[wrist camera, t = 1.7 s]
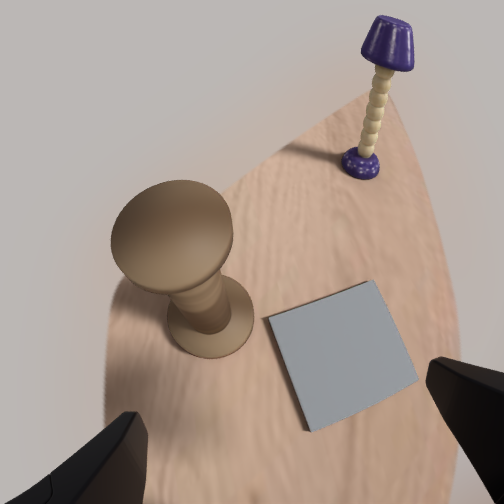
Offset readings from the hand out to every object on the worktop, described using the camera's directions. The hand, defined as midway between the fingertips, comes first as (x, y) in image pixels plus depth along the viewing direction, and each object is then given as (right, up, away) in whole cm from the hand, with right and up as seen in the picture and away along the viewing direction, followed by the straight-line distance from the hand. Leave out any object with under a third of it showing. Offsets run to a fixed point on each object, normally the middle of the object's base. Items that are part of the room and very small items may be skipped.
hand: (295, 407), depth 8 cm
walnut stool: (-4, -1, +15) cm, 15 cm away
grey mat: (+6, -3, +13) cm, 15 cm away
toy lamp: (+10, +14, +23) cm, 28 cm away
